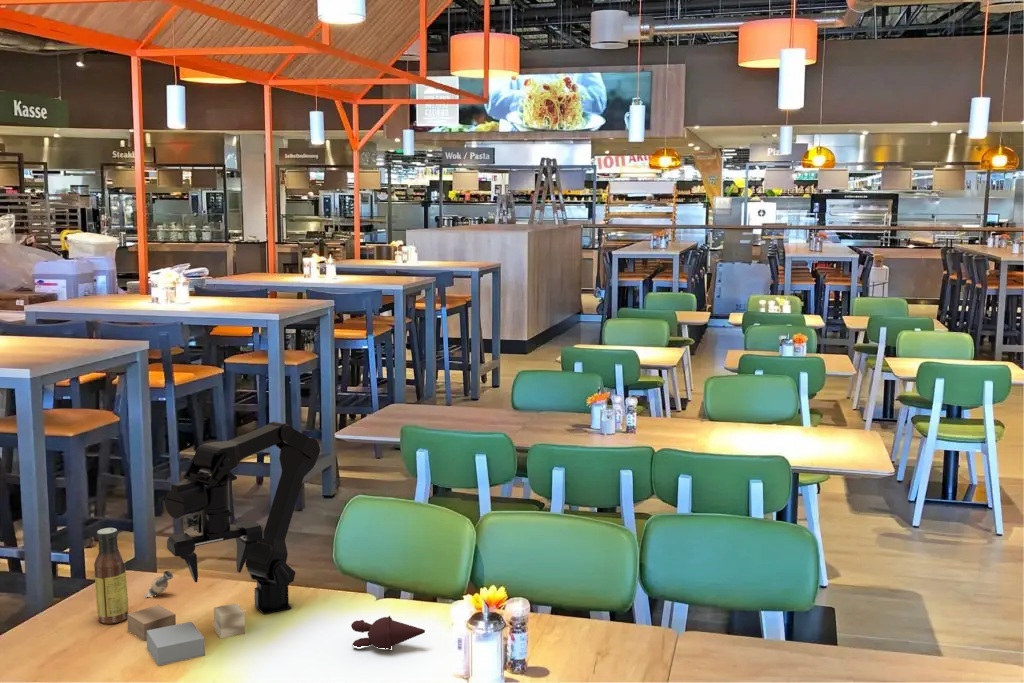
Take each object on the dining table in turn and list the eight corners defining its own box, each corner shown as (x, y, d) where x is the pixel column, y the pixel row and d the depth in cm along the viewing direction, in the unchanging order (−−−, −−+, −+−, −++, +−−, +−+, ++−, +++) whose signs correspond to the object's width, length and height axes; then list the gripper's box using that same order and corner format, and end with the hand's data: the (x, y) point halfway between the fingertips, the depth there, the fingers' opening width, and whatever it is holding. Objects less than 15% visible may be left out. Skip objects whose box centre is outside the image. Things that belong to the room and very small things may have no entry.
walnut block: (159, 622, 215) (158, 604, 214) (175, 632, 210) (175, 614, 210) (127, 632, 210) (127, 614, 209) (144, 642, 205) (144, 624, 205)
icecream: (425, 610, 208) (353, 615, 208) (422, 616, 201) (347, 621, 201) (427, 644, 208) (355, 649, 208) (424, 651, 200) (349, 656, 200)
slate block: (192, 639, 207) (191, 621, 207) (204, 657, 200) (204, 638, 199) (147, 649, 202) (146, 630, 202) (158, 667, 195) (157, 647, 194)
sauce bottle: (134, 614, 218) (131, 526, 215) (120, 626, 212) (117, 536, 209) (105, 612, 219) (102, 524, 216) (90, 624, 213) (87, 534, 210)
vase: (179, 592, 231) (177, 568, 229) (166, 603, 226) (164, 578, 224) (157, 589, 232) (156, 565, 230) (144, 600, 227) (142, 575, 225)
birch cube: (237, 625, 214) (237, 603, 213) (244, 634, 210) (244, 611, 209) (214, 630, 212) (213, 607, 211) (220, 639, 207) (220, 616, 207)
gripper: (243, 487, 218) (245, 555, 221) (157, 502, 207) (160, 574, 210) (263, 500, 209) (265, 571, 212) (174, 517, 199) (177, 592, 201)
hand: (217, 576), depth 209 cm, fingers open, 9 cm apart
